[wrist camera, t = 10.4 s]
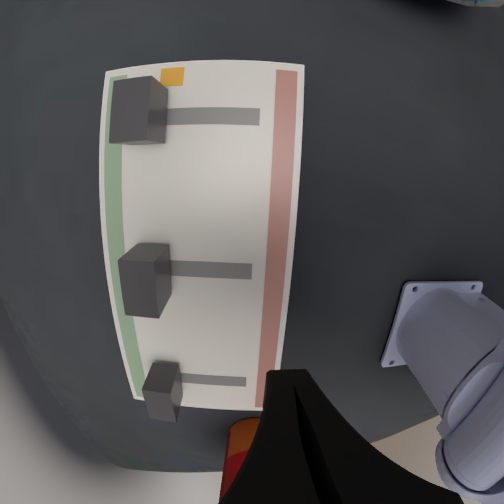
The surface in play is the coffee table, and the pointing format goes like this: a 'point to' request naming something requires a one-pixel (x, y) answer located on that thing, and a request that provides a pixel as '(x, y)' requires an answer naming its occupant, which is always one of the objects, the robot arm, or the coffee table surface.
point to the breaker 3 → (163, 392)
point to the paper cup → (237, 449)
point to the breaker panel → (209, 224)
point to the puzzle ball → (480, 2)
